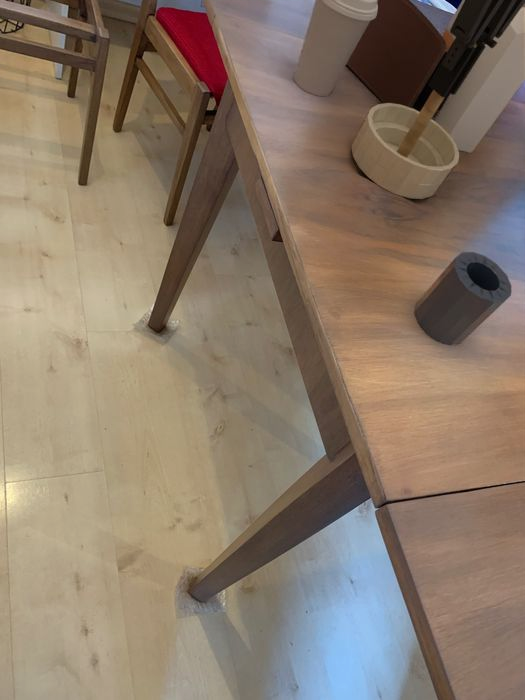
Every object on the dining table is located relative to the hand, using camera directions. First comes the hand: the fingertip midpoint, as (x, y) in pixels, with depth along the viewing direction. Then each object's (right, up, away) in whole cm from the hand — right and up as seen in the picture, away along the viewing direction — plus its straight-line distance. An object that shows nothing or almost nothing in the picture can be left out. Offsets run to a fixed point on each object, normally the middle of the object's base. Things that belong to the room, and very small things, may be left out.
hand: (442, 89), depth 74 cm
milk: (+8, +1, +21) cm, 23 cm away
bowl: (-4, -7, +10) cm, 13 cm away
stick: (-4, -6, +9) cm, 12 cm away
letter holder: (-2, +12, +25) cm, 28 cm away
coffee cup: (-16, +9, +17) cm, 25 cm away
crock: (-2, -31, -6) cm, 32 cm away
